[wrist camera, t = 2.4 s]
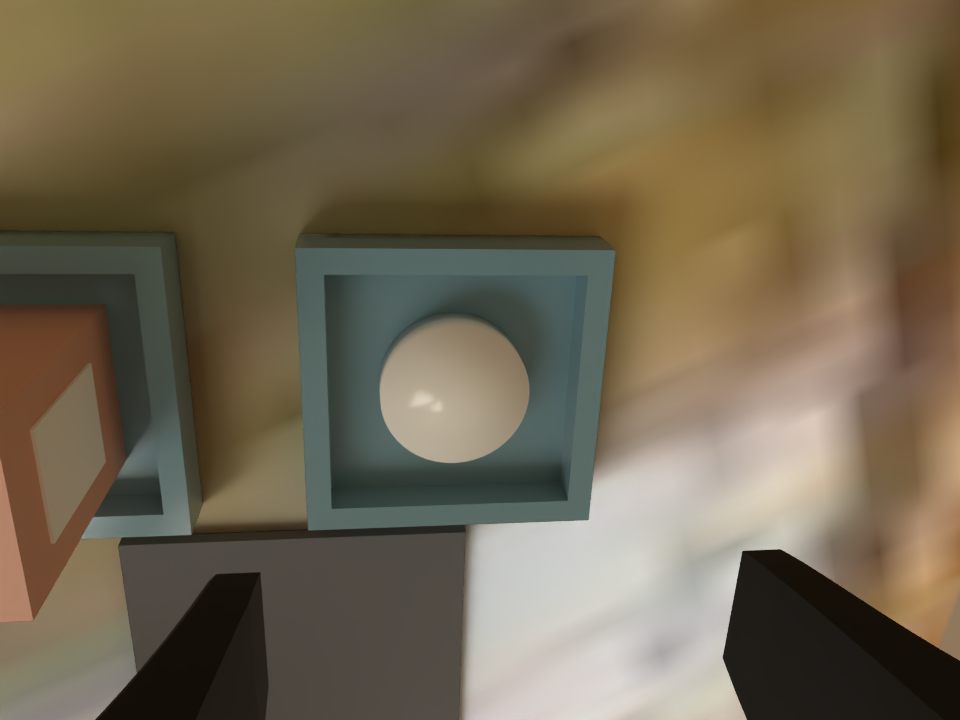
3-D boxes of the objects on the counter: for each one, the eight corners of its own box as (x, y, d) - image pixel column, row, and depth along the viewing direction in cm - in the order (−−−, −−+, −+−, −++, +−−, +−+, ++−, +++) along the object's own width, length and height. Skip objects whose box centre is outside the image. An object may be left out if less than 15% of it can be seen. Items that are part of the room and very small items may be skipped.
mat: (455, 766, 26) (456, 778, 25) (159, 789, 24) (156, 801, 24) (464, 524, 22) (465, 532, 22) (122, 537, 21) (118, 545, 21)
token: (519, 441, 21) (526, 459, 20) (380, 447, 21) (381, 466, 20) (524, 309, 20) (532, 322, 19) (377, 314, 19) (377, 327, 18)
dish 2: (575, 492, 22) (588, 520, 21) (311, 501, 21) (307, 530, 20) (599, 236, 20) (615, 250, 18) (300, 233, 19) (294, 247, 18)
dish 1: (202, 504, 21) (191, 534, 20) (-96, 514, 20) (-129, 546, 19) (175, 232, 18) (160, 247, 17) (-170, 228, 18) (-213, 244, 16)
